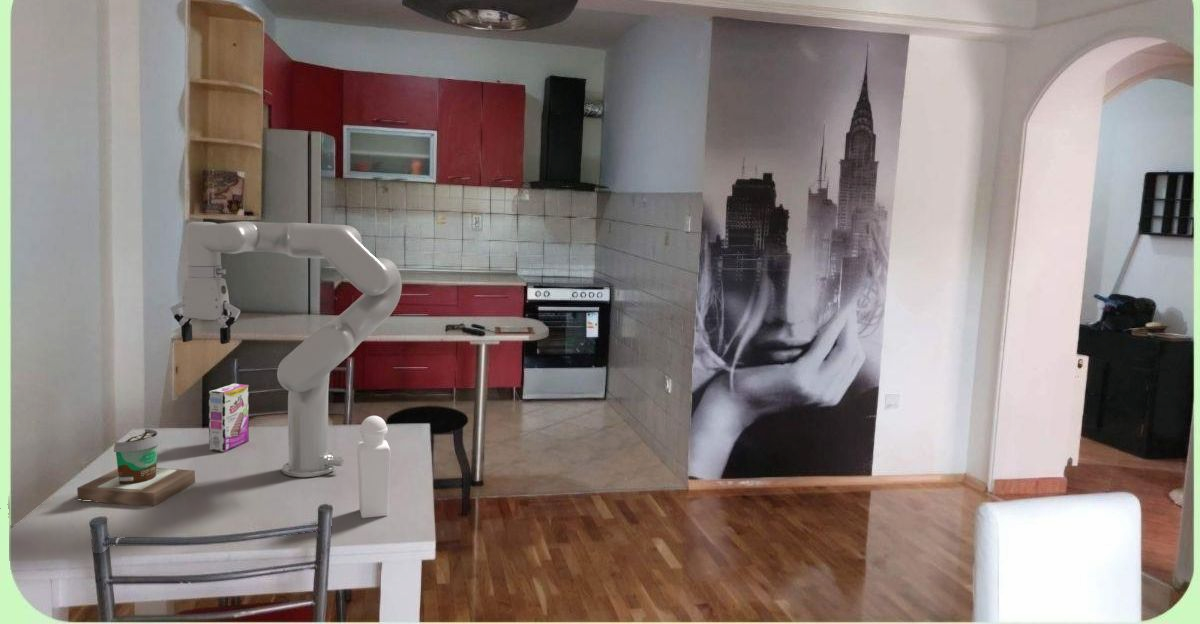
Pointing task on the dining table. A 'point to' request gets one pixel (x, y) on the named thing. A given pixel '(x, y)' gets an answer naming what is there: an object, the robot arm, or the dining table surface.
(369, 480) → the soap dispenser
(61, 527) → the dining table surface
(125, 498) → the plinth
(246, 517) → the dining table surface
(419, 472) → the dining table surface
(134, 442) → the food container
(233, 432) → the candy bar box
